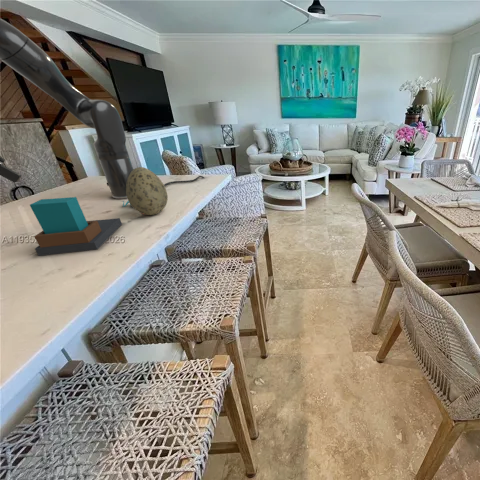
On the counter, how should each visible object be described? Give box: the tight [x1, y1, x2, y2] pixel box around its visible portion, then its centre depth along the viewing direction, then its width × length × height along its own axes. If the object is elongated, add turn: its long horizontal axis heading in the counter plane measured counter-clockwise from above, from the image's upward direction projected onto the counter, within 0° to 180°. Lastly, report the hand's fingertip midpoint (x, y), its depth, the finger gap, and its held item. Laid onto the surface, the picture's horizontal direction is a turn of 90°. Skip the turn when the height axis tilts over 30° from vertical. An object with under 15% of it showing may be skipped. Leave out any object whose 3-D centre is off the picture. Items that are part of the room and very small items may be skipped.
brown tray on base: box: [33, 217, 123, 257], centre depth 69 cm, size 16×12×5 cm
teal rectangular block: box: [29, 196, 88, 234], centre depth 63 cm, size 4×7×10 cm, turn 105°
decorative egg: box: [126, 166, 169, 216], centre depth 83 cm, size 11×11×15 cm
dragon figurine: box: [121, 200, 131, 207], centre depth 92 cm, size 7×7×8 cm
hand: (5, 184), depth 59 cm, fingers open, 8 cm apart
